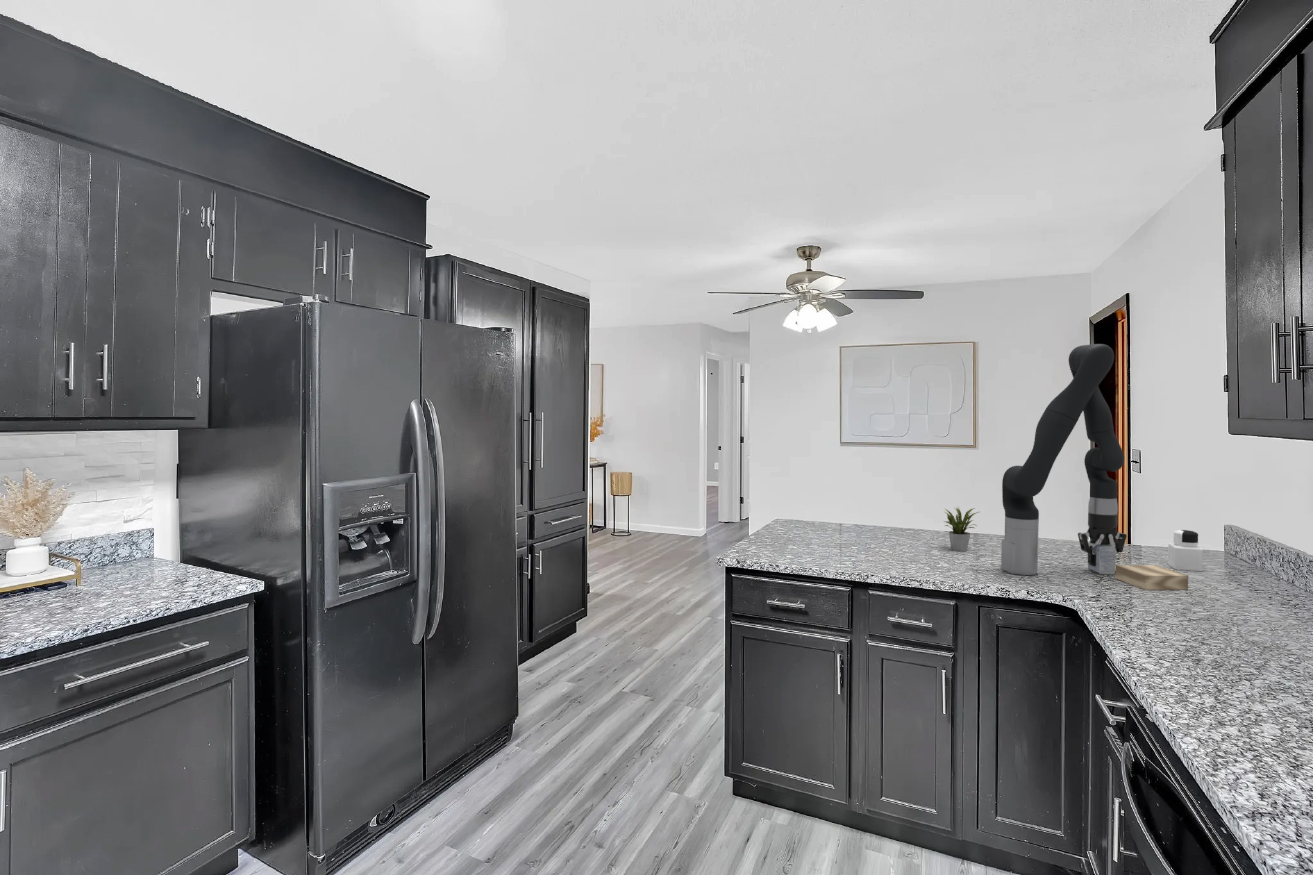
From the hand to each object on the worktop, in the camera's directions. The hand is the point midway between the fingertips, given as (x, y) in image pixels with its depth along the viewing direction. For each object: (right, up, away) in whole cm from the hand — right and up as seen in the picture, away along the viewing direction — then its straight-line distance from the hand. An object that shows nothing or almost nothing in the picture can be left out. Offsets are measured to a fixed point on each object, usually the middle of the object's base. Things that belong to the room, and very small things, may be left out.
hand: (1101, 565), depth 202 cm
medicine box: (0, -2, 0) cm, 2 cm away
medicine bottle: (+29, -2, +4) cm, 29 cm away
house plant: (-28, -1, +31) cm, 42 cm away
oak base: (+5, -3, -14) cm, 15 cm away
